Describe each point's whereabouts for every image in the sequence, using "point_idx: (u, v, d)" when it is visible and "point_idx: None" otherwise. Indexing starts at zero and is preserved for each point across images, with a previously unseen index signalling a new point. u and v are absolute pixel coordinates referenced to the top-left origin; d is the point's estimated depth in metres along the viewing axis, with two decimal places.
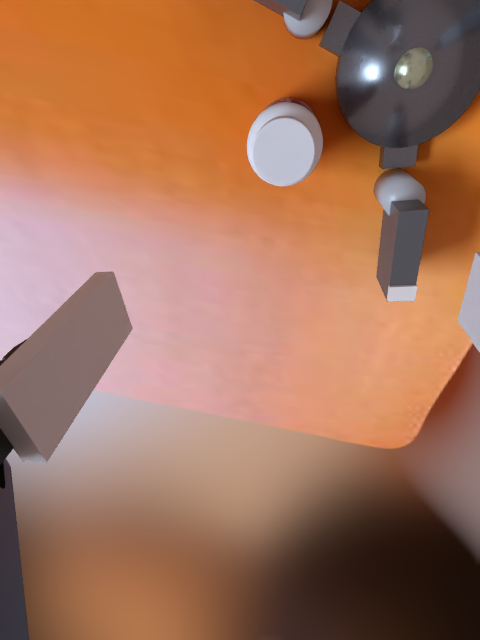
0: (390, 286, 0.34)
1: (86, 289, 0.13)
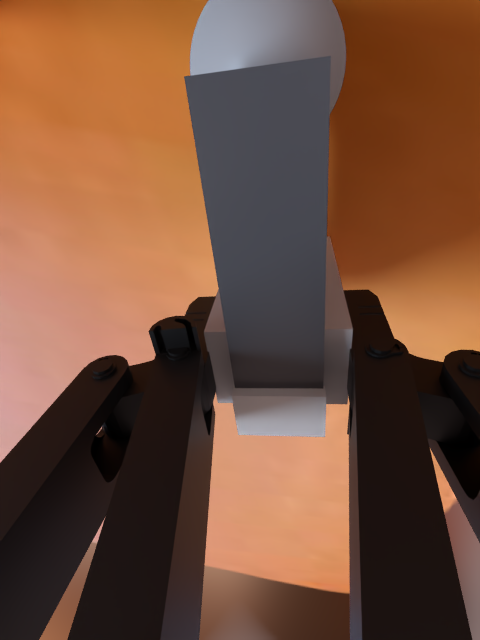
0: (236, 391, 0.10)
1: None
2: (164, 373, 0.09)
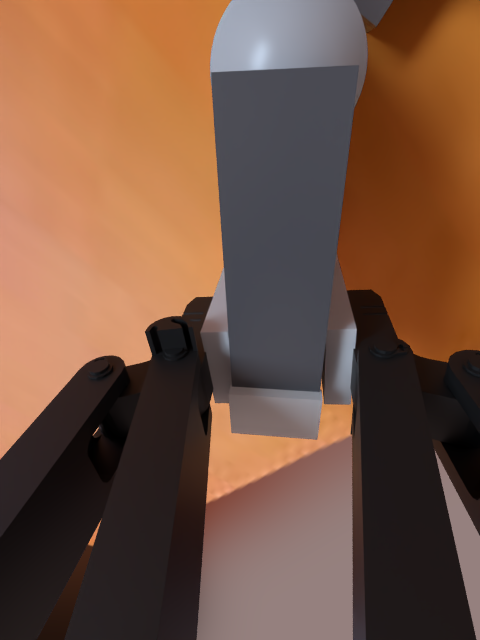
0: (233, 390, 0.10)
1: None
2: (160, 373, 0.09)
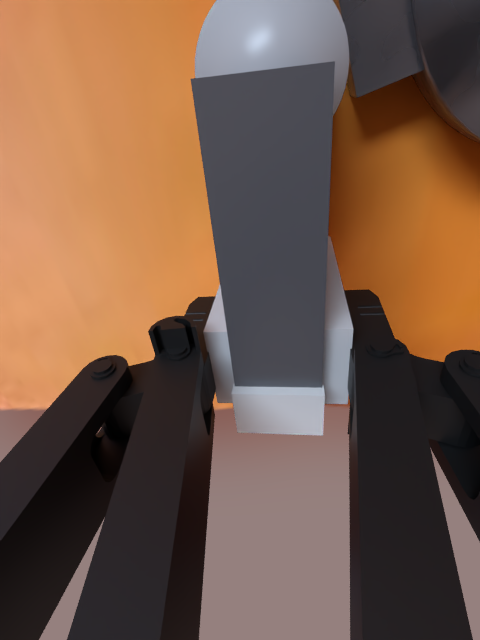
0: (236, 390, 0.10)
1: None
2: (164, 373, 0.09)
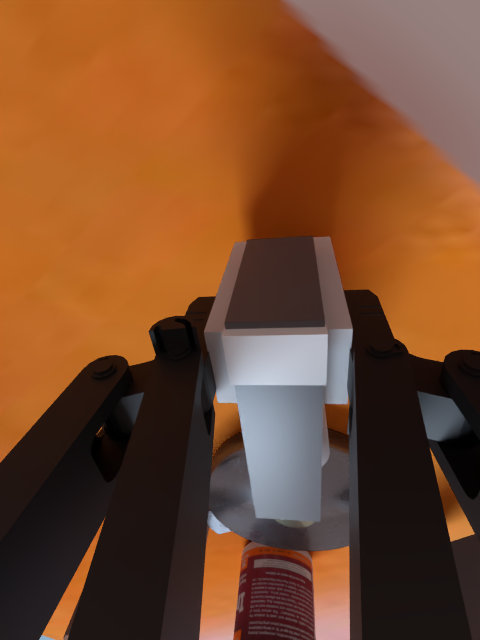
0: None
1: (238, 255, 0.14)
2: (164, 373, 0.09)
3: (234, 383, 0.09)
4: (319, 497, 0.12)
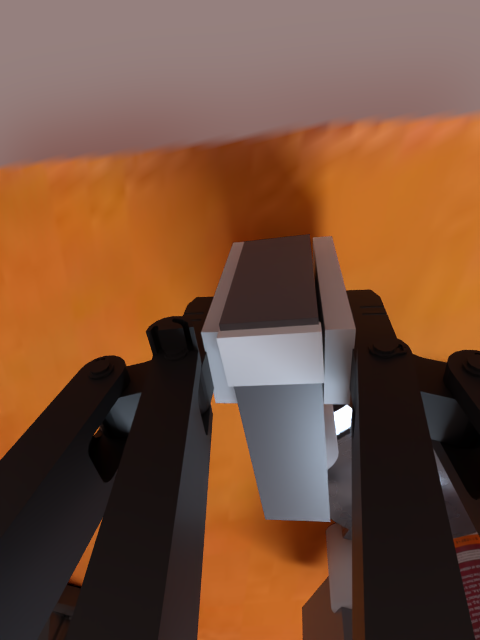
0: None
1: (236, 255, 0.14)
2: (161, 373, 0.09)
3: (232, 384, 0.09)
4: (327, 497, 0.12)
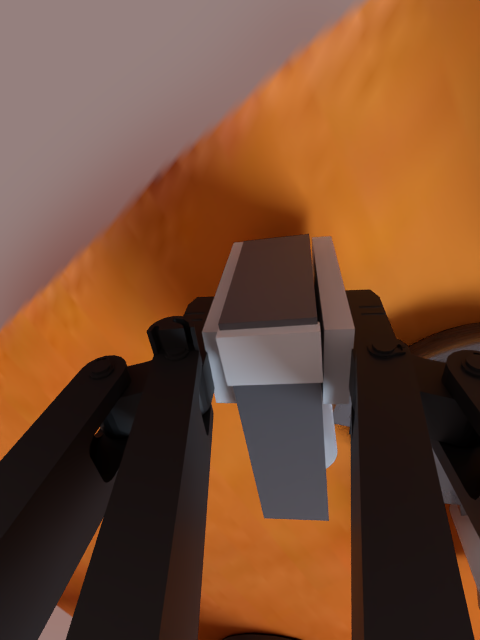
0: None
1: (237, 254, 0.14)
2: (162, 373, 0.09)
3: (231, 384, 0.09)
4: (325, 496, 0.12)
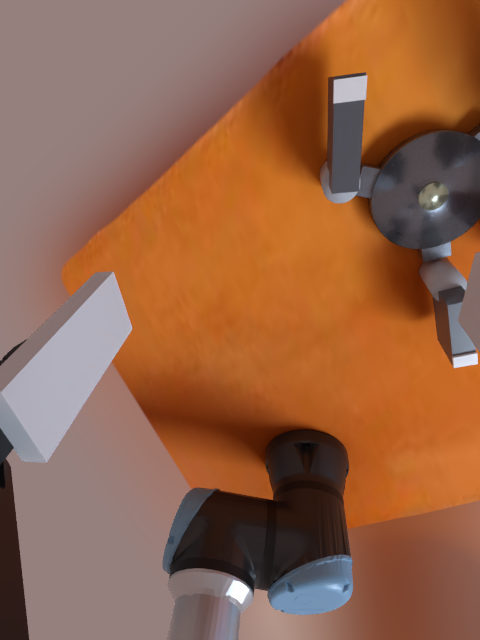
0: None
1: (86, 289, 0.13)
2: None
3: (335, 102, 0.29)
4: (359, 172, 0.32)
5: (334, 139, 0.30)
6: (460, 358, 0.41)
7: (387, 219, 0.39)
